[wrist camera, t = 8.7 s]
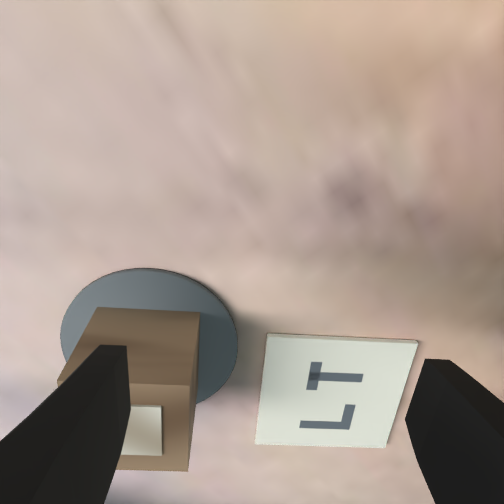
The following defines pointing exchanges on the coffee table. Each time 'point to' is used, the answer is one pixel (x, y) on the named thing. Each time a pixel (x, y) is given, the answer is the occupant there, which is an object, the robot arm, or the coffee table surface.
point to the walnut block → (151, 380)
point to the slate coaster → (161, 298)
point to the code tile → (331, 390)
